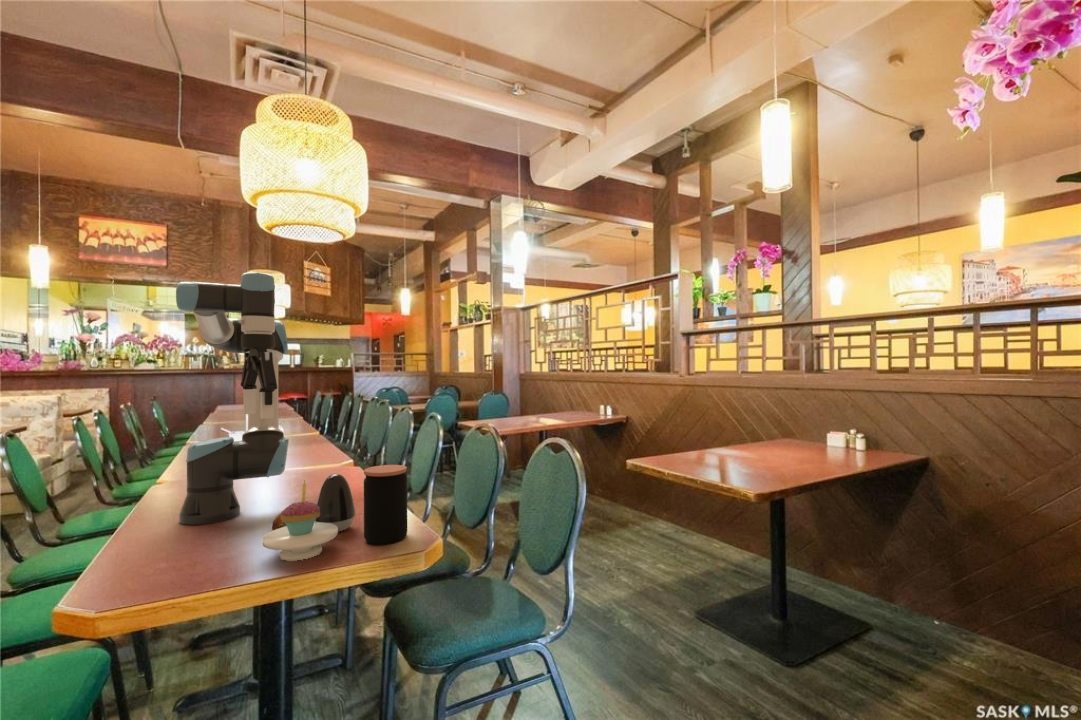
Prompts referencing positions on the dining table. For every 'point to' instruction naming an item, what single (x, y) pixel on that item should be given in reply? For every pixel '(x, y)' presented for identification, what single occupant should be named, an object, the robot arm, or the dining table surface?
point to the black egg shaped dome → (336, 502)
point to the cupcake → (300, 516)
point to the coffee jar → (385, 504)
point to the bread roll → (278, 523)
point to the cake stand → (300, 541)
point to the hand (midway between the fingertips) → (258, 416)
